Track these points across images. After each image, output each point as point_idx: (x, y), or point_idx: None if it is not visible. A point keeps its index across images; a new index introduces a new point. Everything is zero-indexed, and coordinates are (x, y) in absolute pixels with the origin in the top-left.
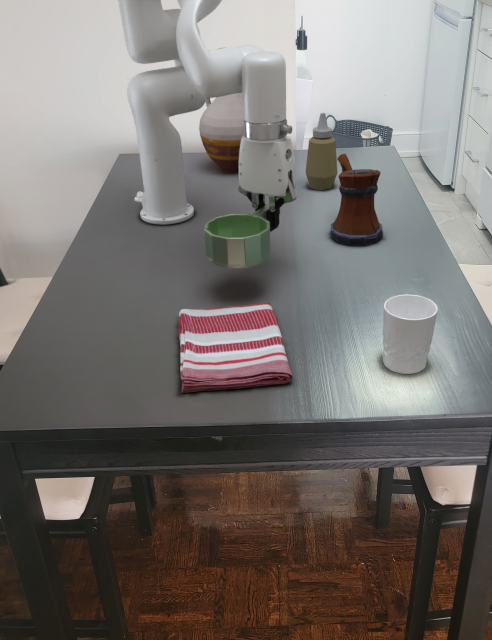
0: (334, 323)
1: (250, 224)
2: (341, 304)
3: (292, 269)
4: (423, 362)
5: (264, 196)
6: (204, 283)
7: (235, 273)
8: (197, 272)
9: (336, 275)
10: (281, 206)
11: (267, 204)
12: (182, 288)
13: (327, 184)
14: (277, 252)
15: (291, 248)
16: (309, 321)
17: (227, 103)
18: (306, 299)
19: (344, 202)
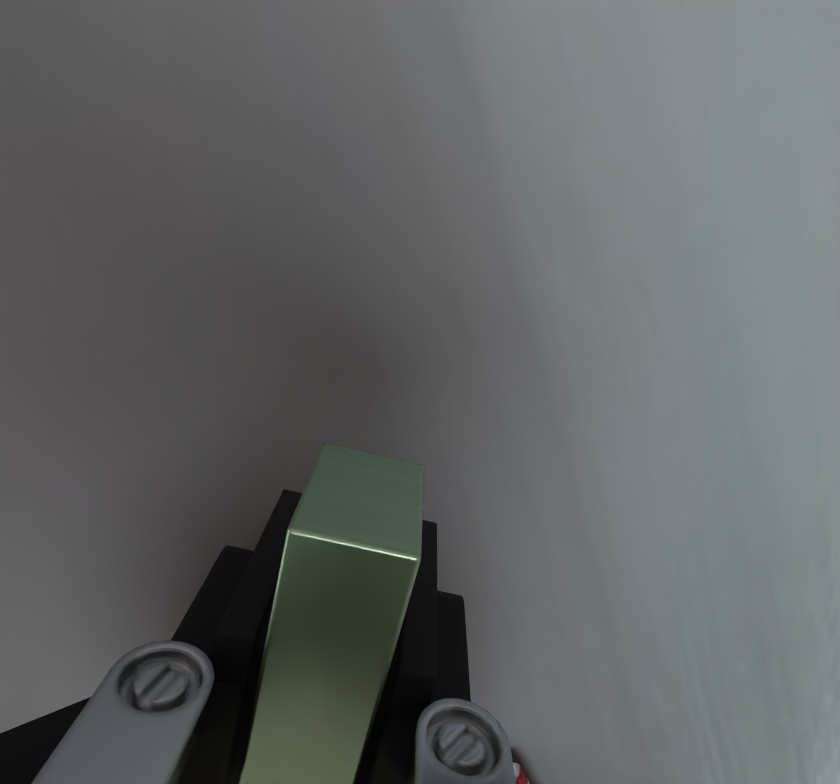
0: (786, 772)
1: None
2: (816, 644)
3: (516, 362)
4: None
5: (173, 780)
6: (127, 609)
7: (220, 483)
8: (24, 518)
9: (788, 374)
10: (499, 727)
11: (270, 683)
12: (60, 668)
13: None
14: (350, 133)
15: (428, 27)
16: (684, 778)
17: None
18: (649, 639)
19: None
